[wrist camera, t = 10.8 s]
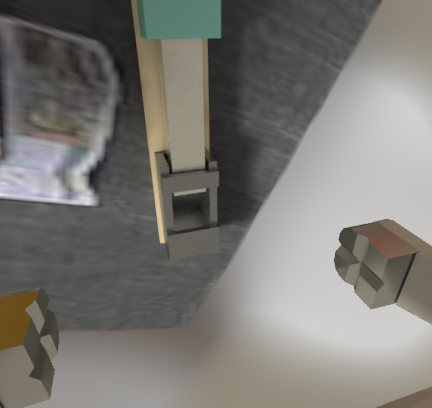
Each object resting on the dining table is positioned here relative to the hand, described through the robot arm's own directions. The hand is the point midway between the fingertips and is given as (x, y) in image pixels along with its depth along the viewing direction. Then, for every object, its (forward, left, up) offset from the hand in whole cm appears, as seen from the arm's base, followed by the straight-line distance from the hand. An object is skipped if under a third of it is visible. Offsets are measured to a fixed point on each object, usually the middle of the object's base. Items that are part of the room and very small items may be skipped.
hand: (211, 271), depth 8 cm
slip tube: (+5, -2, -31) cm, 32 cm away
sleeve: (+5, -15, -33) cm, 37 cm away
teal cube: (+5, +8, -33) cm, 34 cm away
